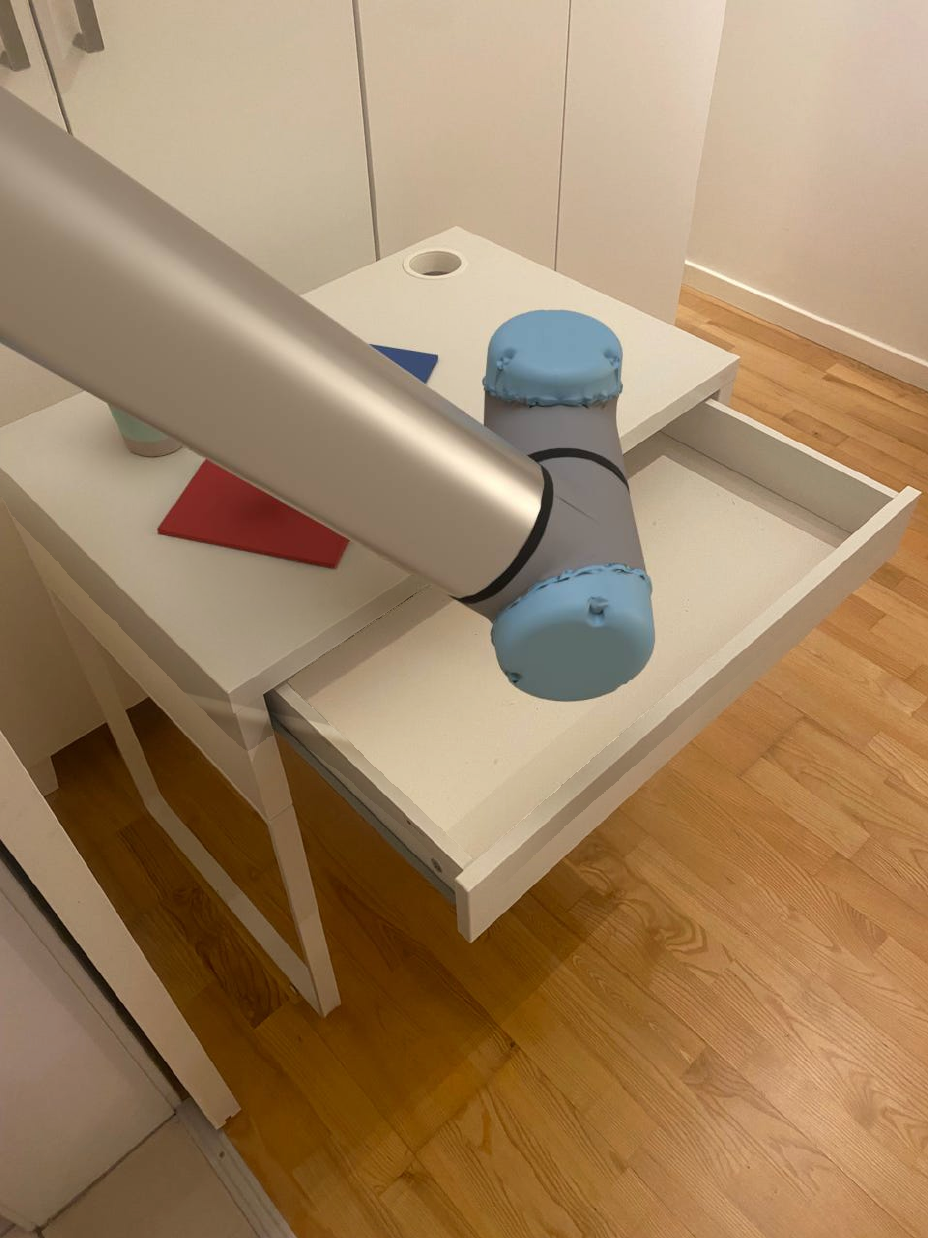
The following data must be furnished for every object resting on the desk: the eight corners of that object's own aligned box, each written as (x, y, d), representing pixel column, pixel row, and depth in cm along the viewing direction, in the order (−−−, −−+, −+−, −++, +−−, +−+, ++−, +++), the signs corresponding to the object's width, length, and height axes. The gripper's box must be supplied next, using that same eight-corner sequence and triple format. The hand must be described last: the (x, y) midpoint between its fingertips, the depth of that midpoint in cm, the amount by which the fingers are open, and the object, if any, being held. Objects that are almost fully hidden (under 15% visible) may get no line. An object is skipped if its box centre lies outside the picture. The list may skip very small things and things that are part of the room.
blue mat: (258, 388, 96) (257, 383, 96) (294, 335, 103) (293, 331, 102) (411, 414, 94) (410, 410, 93) (438, 358, 100) (438, 354, 100)
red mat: (157, 533, 82) (156, 528, 81) (207, 461, 88) (206, 457, 88) (335, 568, 79) (334, 564, 79) (372, 492, 86) (372, 488, 86)
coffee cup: (219, 421, 92) (196, 308, 83) (174, 475, 87) (143, 360, 78) (142, 402, 94) (110, 290, 85) (92, 454, 89) (53, 340, 80)
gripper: (336, 595, 65) (118, 457, 74) (501, 460, 75) (289, 353, 84) (326, 512, 59) (91, 374, 69) (505, 378, 69) (278, 273, 78)
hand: (201, 363), depth 76 cm, fingers closed on soda can, 5 cm apart
